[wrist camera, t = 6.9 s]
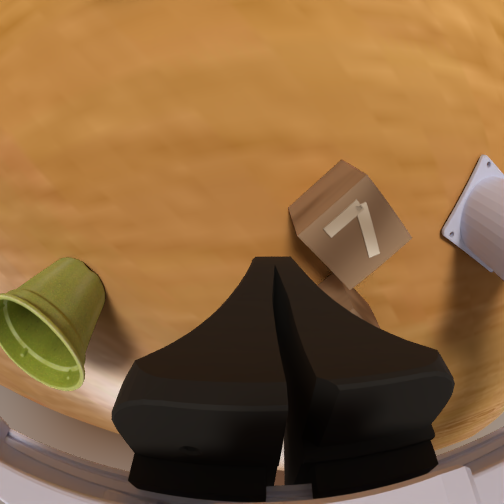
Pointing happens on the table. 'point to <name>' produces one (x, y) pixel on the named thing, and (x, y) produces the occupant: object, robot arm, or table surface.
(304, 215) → the block seven
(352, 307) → the plain block
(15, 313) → the plant pot
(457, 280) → the table surface
